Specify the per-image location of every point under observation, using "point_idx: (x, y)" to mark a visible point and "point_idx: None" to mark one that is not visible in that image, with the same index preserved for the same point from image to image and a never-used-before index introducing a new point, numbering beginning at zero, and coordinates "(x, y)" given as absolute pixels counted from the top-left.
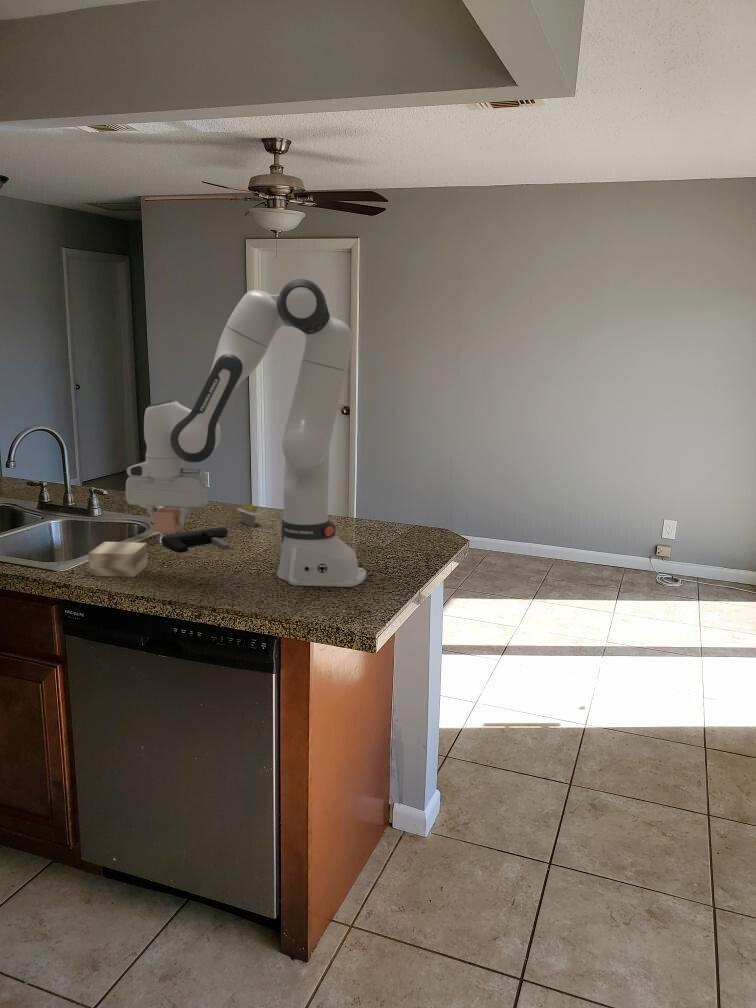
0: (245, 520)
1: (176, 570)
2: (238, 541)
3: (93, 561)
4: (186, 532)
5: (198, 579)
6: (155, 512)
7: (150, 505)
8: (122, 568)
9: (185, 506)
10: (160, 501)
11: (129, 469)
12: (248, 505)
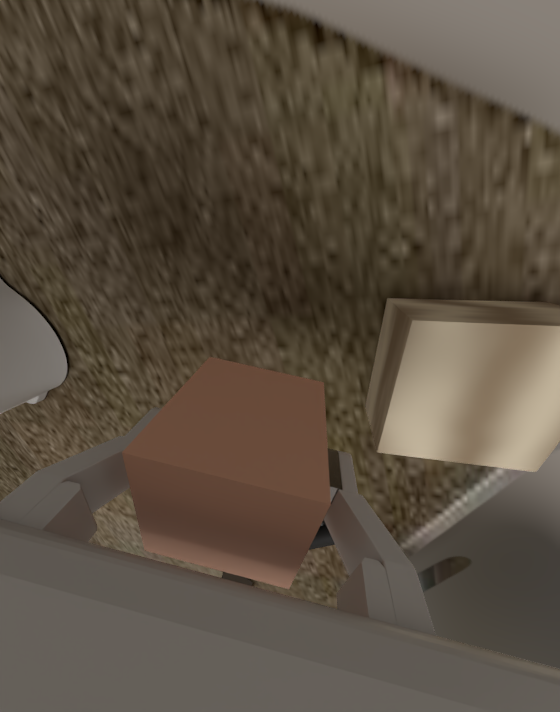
0: (242, 583)
1: (281, 361)
2: None
3: None
4: (310, 546)
5: (202, 289)
6: (308, 493)
7: (384, 623)
8: (437, 305)
9: None
10: (216, 681)
11: None
12: None
